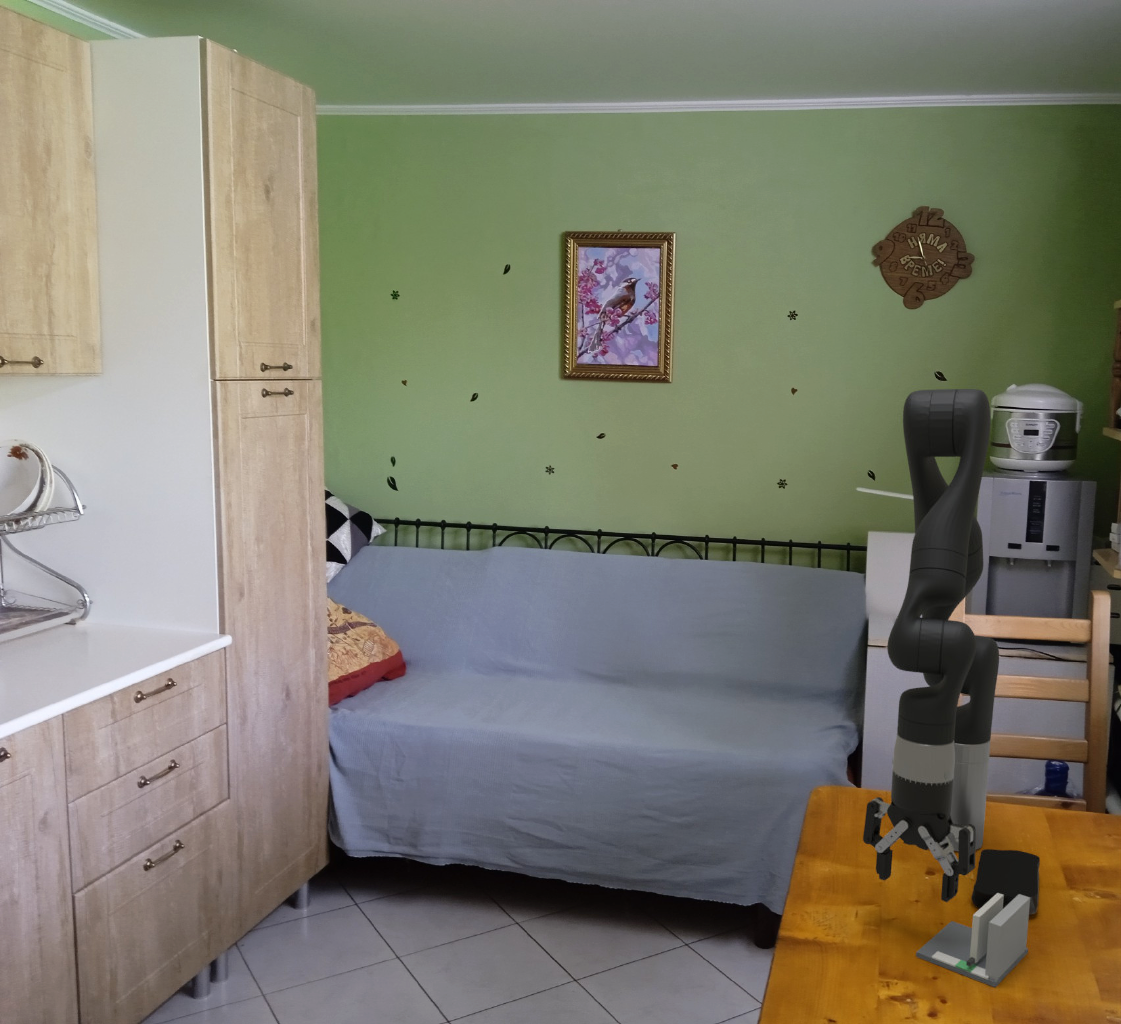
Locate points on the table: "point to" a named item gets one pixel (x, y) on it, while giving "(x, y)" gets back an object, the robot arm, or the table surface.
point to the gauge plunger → (983, 927)
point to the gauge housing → (1001, 948)
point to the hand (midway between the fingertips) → (915, 888)
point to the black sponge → (1007, 877)
